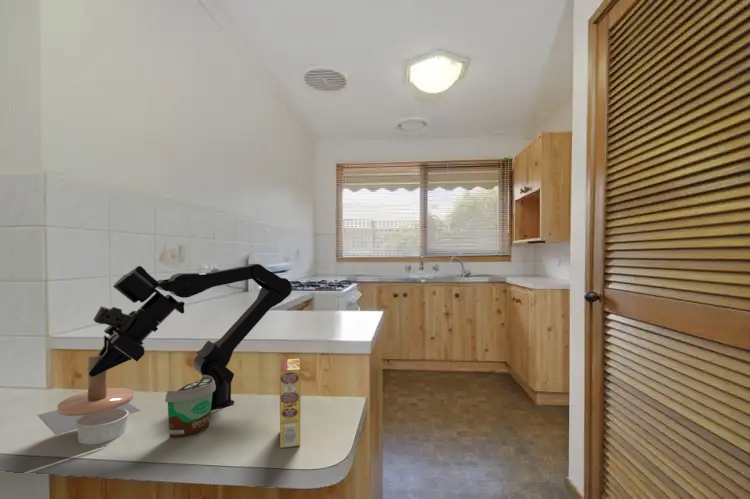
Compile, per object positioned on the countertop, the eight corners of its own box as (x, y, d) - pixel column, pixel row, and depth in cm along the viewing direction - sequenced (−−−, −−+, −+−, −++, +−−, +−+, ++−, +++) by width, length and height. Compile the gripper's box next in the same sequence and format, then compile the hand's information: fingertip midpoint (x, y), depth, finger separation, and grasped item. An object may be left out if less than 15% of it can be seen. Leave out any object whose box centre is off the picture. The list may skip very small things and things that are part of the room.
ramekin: (118, 424, 84) (118, 405, 84) (135, 435, 79) (136, 414, 79) (69, 439, 77) (69, 418, 77) (84, 452, 72) (85, 429, 72)
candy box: (300, 446, 74) (301, 369, 75) (278, 449, 73) (279, 370, 74) (299, 427, 83) (300, 357, 83) (280, 429, 82) (280, 359, 82)
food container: (190, 444, 75) (191, 394, 75) (164, 441, 76) (165, 391, 77) (226, 418, 87) (227, 375, 88) (203, 416, 88) (204, 374, 89)
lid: (99, 390, 88) (99, 347, 88) (147, 394, 85) (147, 350, 85) (40, 413, 75) (40, 363, 75) (94, 418, 72) (95, 366, 73)
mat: (116, 397, 101) (116, 395, 101) (140, 411, 91) (140, 410, 91) (37, 416, 88) (37, 414, 88) (55, 436, 78) (55, 434, 78)
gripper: (115, 290, 90) (55, 343, 83) (126, 296, 76) (54, 360, 69) (152, 319, 95) (98, 371, 88) (169, 330, 81) (106, 393, 73)
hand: (89, 373), depth 79 cm, fingers closed on lid, 3 cm apart
